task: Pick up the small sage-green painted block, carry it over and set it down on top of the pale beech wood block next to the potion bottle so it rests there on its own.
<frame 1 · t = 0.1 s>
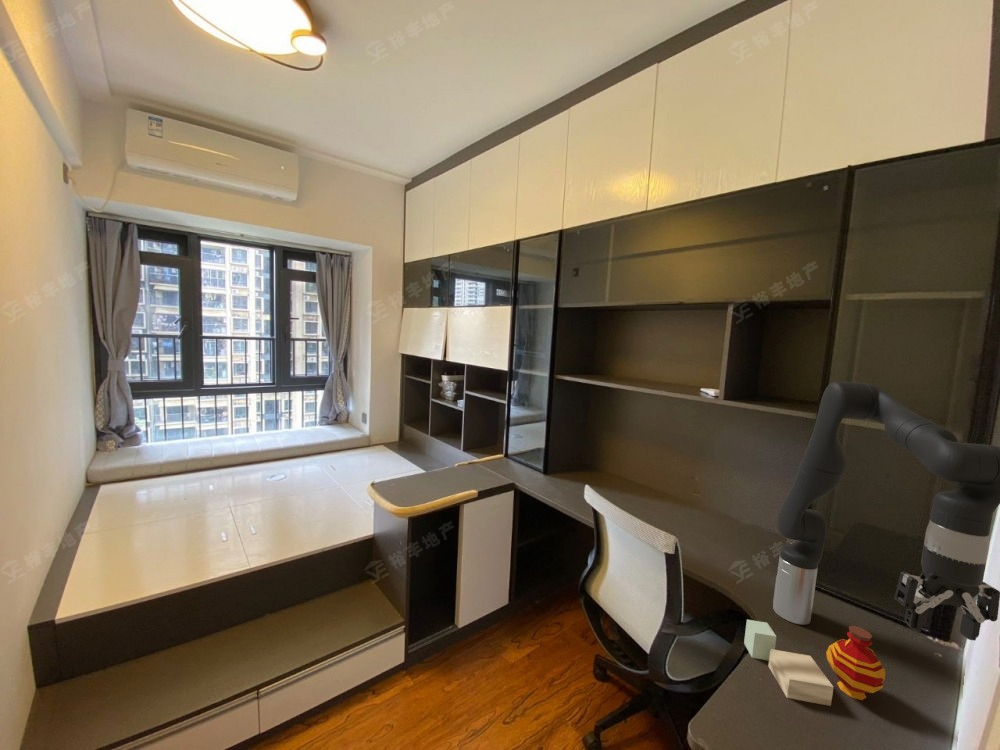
hand: (939, 632, 74), 29 cm above the table, fingers open, 8 cm apart
beech base: (797, 685, 95), on the table
potion bottle: (850, 690, 95), on the table
green block: (758, 652, 105), on the table
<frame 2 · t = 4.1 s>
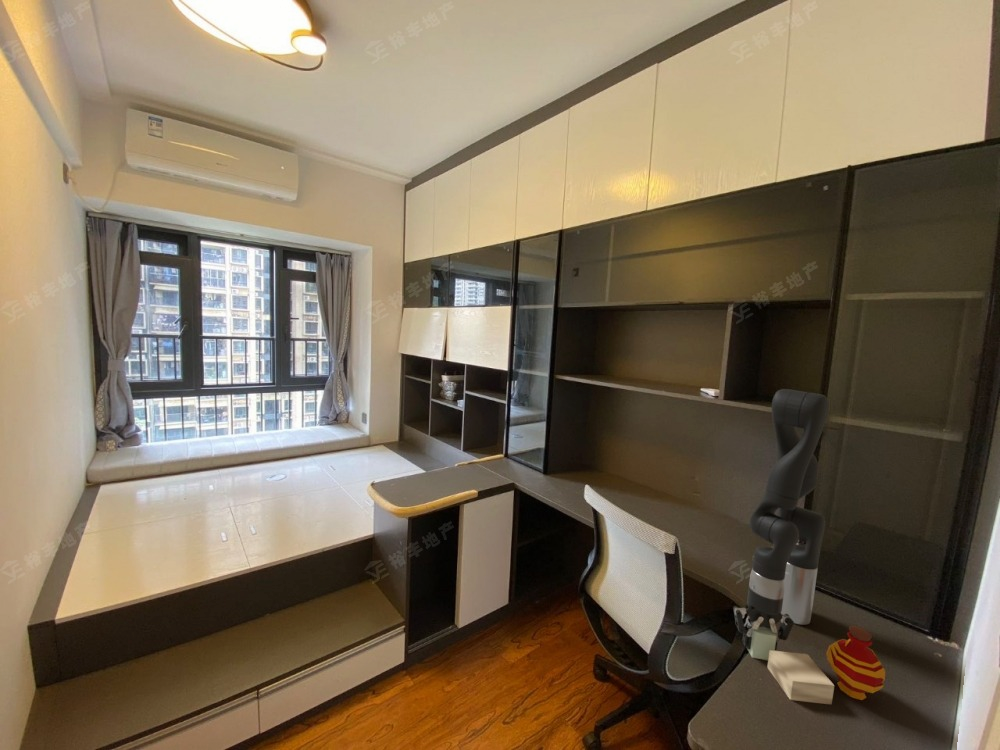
hand: (758, 648, 105), 1 cm above the table, fingers closed on green block, 5 cm apart
green block: (758, 651, 105), on the table, touching gripper
everything else where it was.
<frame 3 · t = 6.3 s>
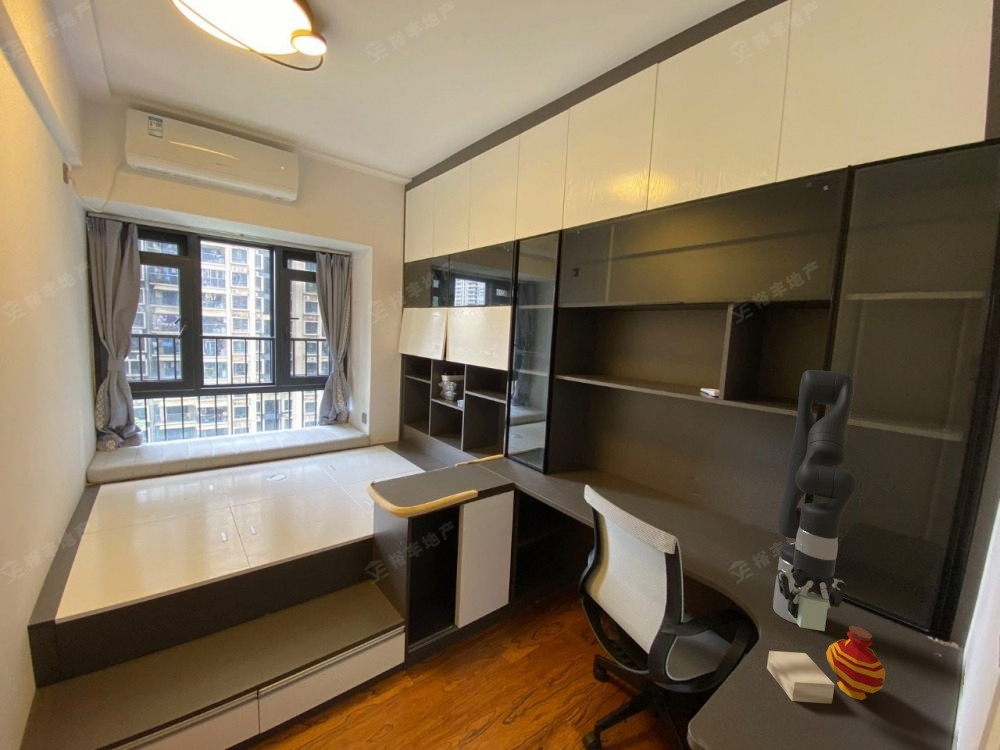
hand: (806, 617, 94), 17 cm above the table, fingers closed on green block, 5 cm apart
green block: (806, 621, 94), point 16 cm above the table, touching gripper
everything else where it was.
when the fingers open (7 cm above the table, at t = 8.5 s): green block drops 2 cm, resting on beech base.
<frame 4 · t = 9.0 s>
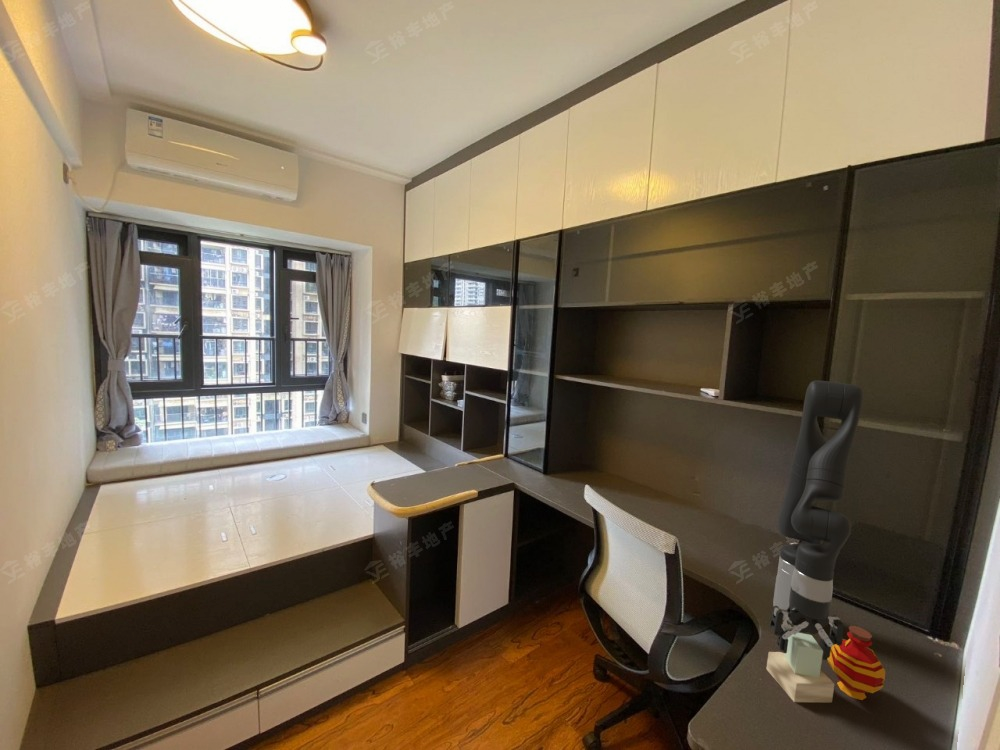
hand: (802, 653, 95), 8 cm above the table, fingers open, 8 cm apart
beech base: (797, 686, 95), on the table, touching green block
green block: (801, 667, 95), point 5 cm above the table, touching beech base
everything else where it was.
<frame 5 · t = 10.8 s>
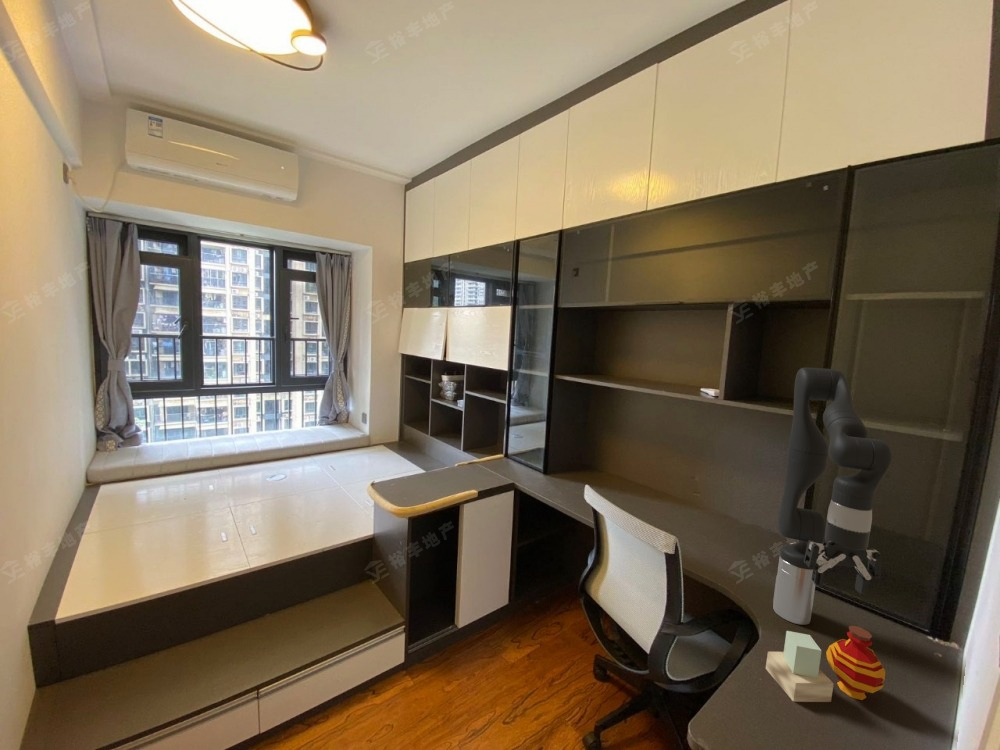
hand: (838, 588, 92), 25 cm above the table, fingers open, 8 cm apart
beech base: (796, 685, 96), on the table
green block: (799, 667, 95), point 5 cm above the table
everything else where it was.
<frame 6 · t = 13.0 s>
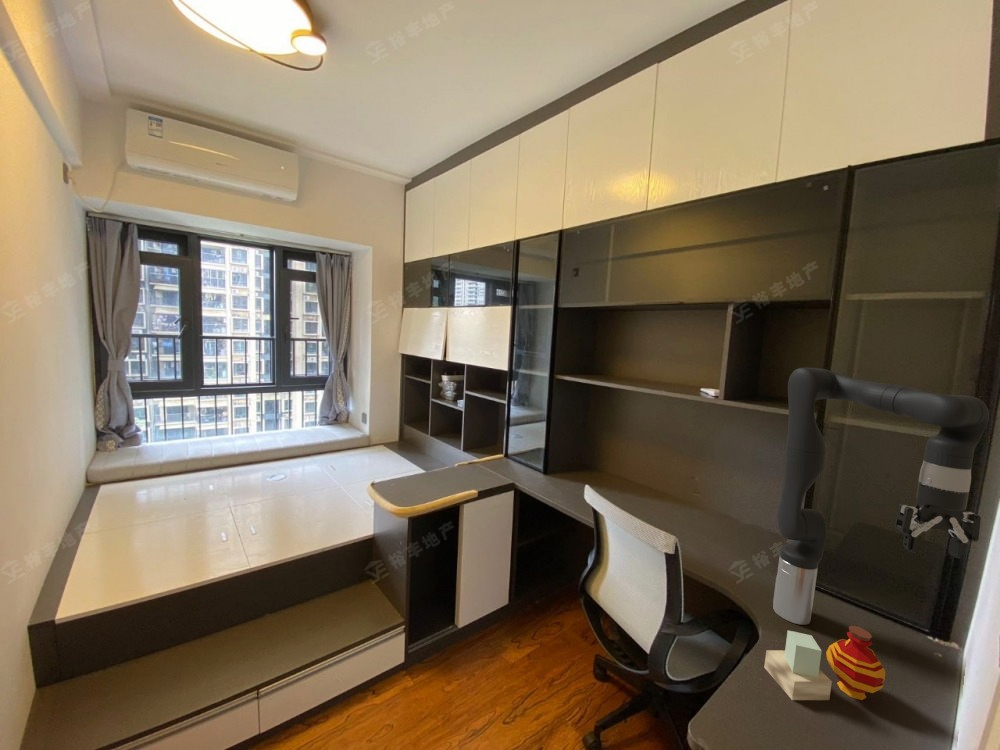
hand: (931, 553, 89), 36 cm above the table, fingers open, 8 cm apart
beech base: (795, 684, 96), on the table, touching green block
green block: (800, 667, 95), point 5 cm above the table, touching beech base
everything else where it was.
at the end: green block inside the target area on the beech base (0.7 cm from its centre), point 5.0 cm above the beech base's base; green block tilted 1°; the gripper is holding nothing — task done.
